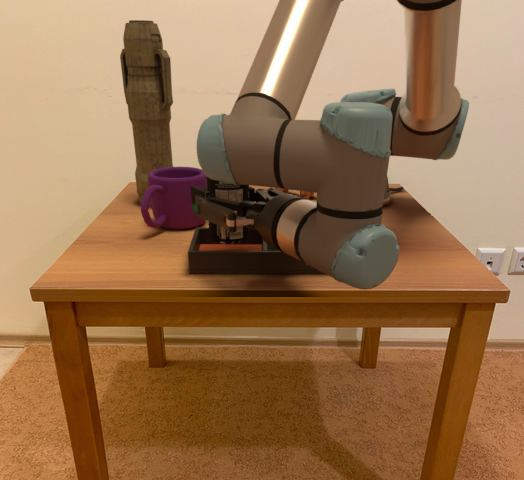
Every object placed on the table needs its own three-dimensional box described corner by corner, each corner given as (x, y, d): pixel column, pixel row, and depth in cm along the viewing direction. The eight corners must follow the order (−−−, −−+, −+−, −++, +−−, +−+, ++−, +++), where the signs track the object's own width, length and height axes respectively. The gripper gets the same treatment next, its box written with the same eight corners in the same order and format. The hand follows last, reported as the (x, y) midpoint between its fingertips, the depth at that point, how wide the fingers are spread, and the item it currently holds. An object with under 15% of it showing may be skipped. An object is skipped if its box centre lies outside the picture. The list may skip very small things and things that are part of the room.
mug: (173, 212, 110) (169, 164, 105) (219, 219, 106) (217, 169, 101) (121, 235, 97) (113, 181, 91) (171, 244, 92) (166, 188, 87)
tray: (196, 247, 91) (195, 227, 90) (330, 247, 92) (332, 228, 90) (189, 273, 81) (187, 251, 79) (341, 274, 81) (343, 252, 79)
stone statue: (169, 210, 111) (153, 19, 94) (125, 204, 115) (102, 20, 98) (190, 200, 118) (179, 21, 101) (148, 195, 122) (130, 22, 105)
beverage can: (228, 230, 88) (226, 156, 82) (257, 238, 85) (257, 162, 79) (201, 239, 84) (196, 162, 78) (230, 248, 80) (228, 168, 74)
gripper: (234, 268, 65) (160, 223, 82) (348, 242, 75) (261, 206, 91) (233, 209, 61) (155, 174, 78) (354, 189, 71) (262, 162, 87)
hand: (212, 191), depth 84 cm, fingers closed on beverage can, 7 cm apart
